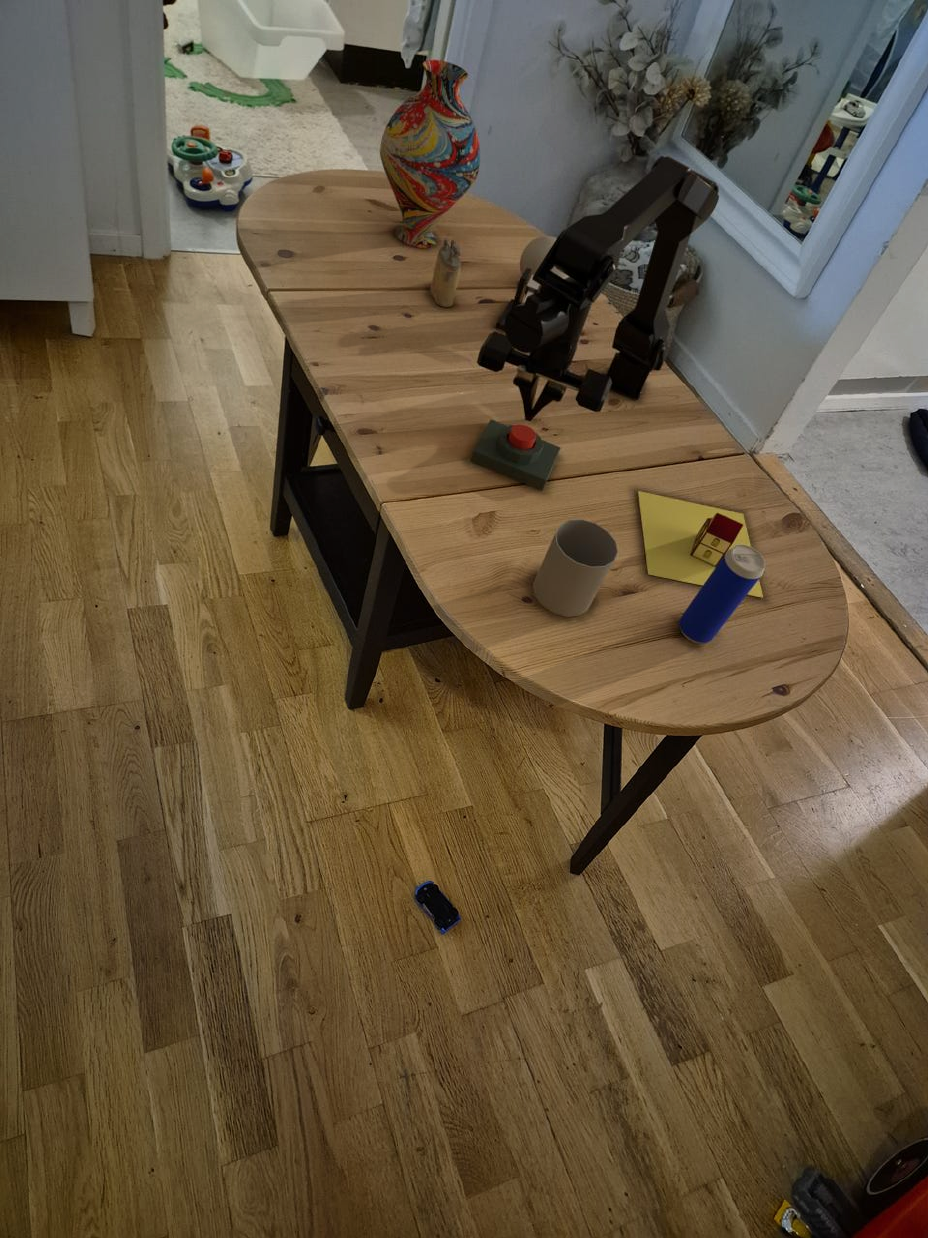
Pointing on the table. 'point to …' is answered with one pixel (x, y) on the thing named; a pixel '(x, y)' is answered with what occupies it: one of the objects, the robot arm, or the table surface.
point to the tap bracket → (516, 295)
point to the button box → (515, 456)
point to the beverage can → (722, 593)
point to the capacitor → (446, 274)
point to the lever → (530, 289)
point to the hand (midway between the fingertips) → (528, 419)
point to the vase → (430, 152)
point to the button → (522, 437)
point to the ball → (538, 255)
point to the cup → (574, 567)
